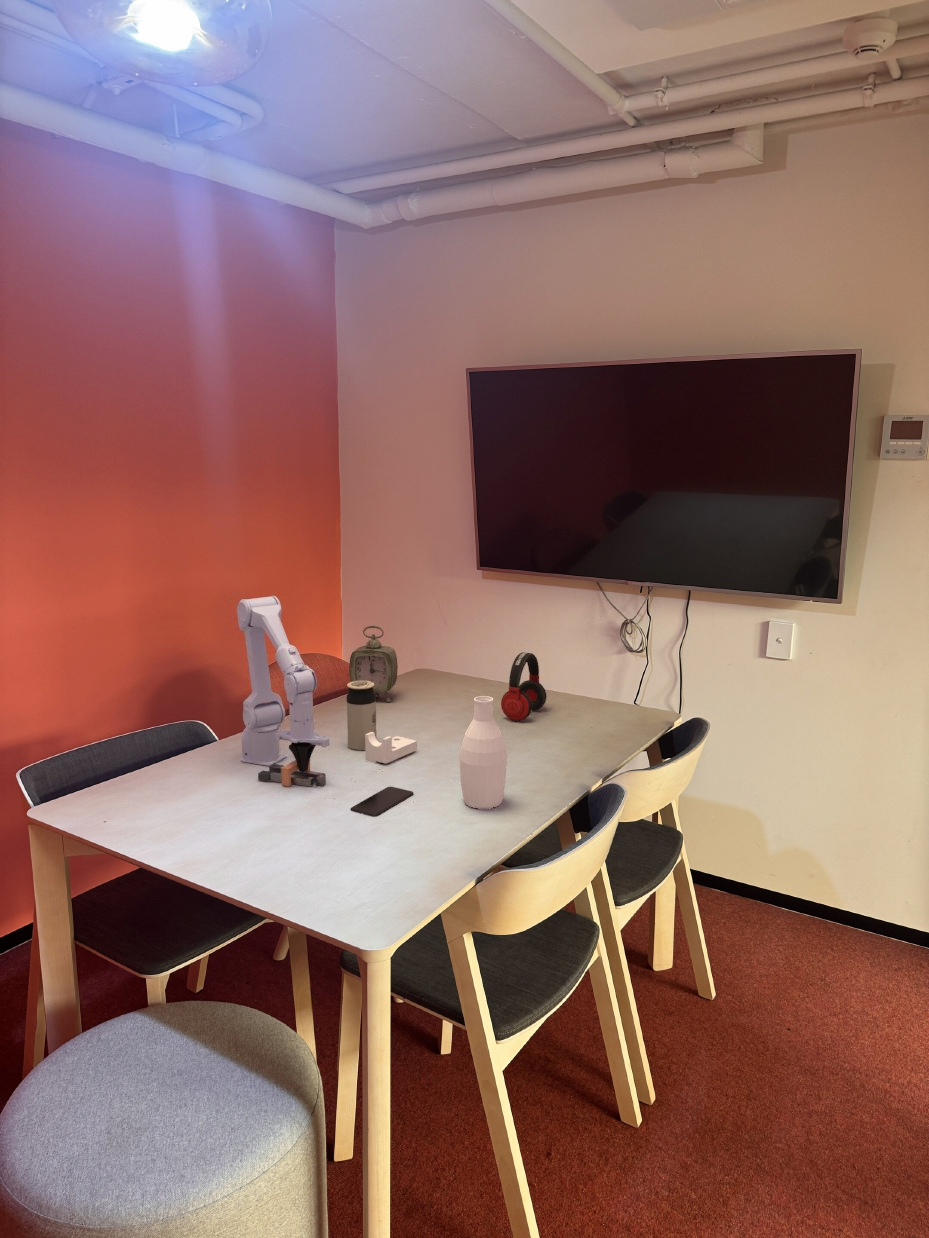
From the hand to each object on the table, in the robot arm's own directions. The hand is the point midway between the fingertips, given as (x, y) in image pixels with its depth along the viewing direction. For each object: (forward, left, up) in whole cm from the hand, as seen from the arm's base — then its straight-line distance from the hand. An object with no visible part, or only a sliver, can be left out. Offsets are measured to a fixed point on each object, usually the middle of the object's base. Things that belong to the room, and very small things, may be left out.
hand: (303, 770), depth 217 cm
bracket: (+12, +25, -3) cm, 28 cm away
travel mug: (0, +29, -3) cm, 29 cm away
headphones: (+32, +74, -3) cm, 81 cm away
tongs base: (-2, +1, -3) cm, 4 cm away
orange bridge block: (-2, 0, -3) cm, 3 cm away
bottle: (+46, +6, -3) cm, 46 cm away
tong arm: (-4, -3, -3) cm, 5 cm away
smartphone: (+24, -3, -4) cm, 25 cm away
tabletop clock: (-19, +71, -3) cm, 74 cm away
